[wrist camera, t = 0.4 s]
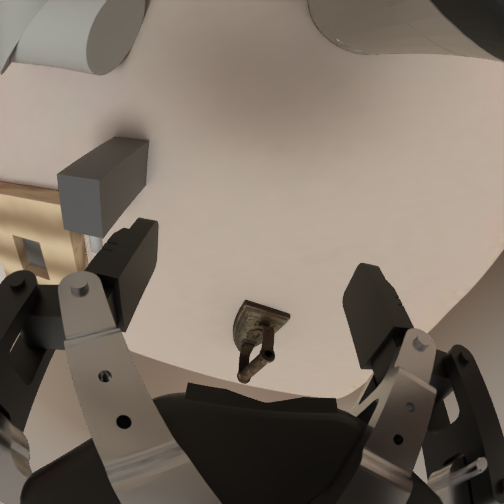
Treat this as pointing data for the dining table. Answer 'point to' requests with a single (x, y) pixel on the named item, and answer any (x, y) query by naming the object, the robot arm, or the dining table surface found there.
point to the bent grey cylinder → (69, 33)
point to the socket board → (37, 235)
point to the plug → (102, 187)
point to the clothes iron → (256, 336)
